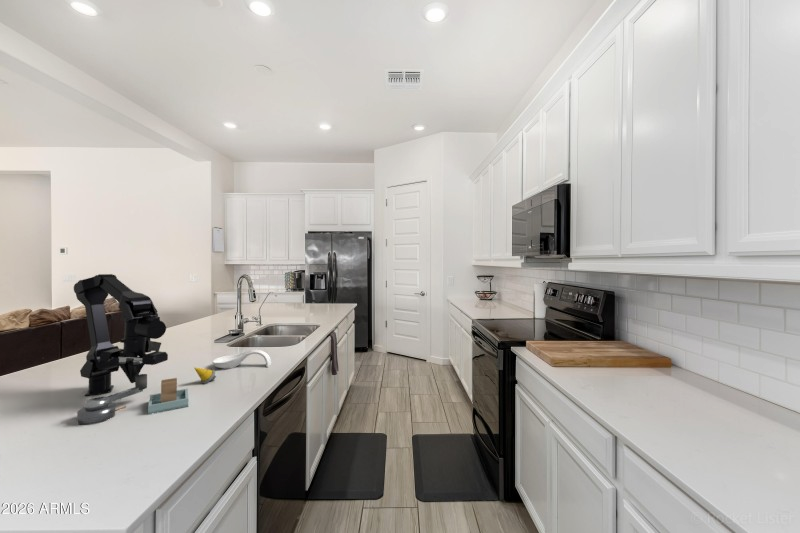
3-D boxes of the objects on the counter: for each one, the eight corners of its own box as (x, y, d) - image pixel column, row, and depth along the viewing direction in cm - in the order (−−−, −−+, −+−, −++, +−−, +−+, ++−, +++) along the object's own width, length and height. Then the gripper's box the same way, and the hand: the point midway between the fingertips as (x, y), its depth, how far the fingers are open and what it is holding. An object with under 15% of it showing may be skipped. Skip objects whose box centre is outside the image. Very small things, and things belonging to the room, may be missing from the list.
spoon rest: (207, 371, 135) (207, 354, 135) (219, 363, 146) (219, 347, 146) (266, 370, 138) (266, 353, 138) (273, 362, 149) (274, 346, 149)
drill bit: (217, 384, 122) (196, 371, 116) (206, 389, 123) (185, 376, 117) (222, 372, 126) (202, 358, 120) (211, 376, 127) (191, 363, 121)
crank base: (81, 414, 95) (82, 404, 95) (126, 406, 101) (126, 397, 101) (73, 427, 88) (73, 416, 88) (121, 418, 93) (122, 408, 93)
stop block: (161, 401, 103) (161, 380, 103) (176, 399, 106) (176, 377, 106) (160, 406, 100) (161, 383, 100) (176, 403, 102) (176, 381, 102)
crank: (92, 411, 90) (92, 393, 90) (80, 409, 92) (80, 390, 92) (151, 390, 105) (151, 374, 105) (140, 388, 107) (140, 373, 107)
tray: (150, 402, 104) (150, 394, 104) (187, 395, 110) (187, 388, 110) (148, 414, 96) (148, 406, 96) (188, 406, 102) (188, 398, 102)
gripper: (181, 331, 113) (178, 376, 113) (130, 328, 114) (128, 372, 114) (155, 338, 101) (152, 388, 101) (99, 335, 103) (96, 384, 103)
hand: (133, 382), depth 105 cm, fingers closed
